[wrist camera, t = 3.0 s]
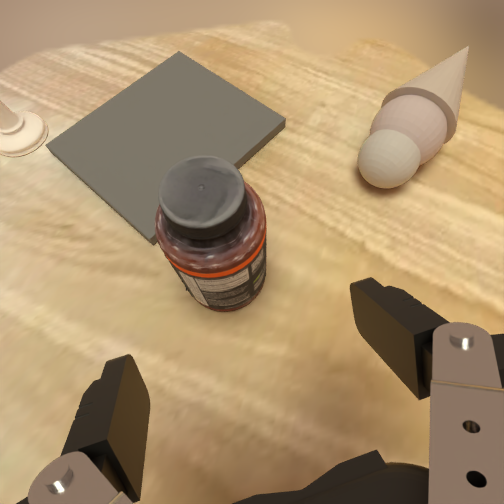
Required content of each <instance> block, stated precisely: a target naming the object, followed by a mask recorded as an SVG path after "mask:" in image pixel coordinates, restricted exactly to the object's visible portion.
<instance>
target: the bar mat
mask: <svg viewBox="0 0 504 504" xmlns="http://www.w3.org/2000/svg"><path fill="white" fill-rule="evenodd" d="M285 121H286V118H284V117H283V116H281V115H279V114H278V113H276V112H275V111H273V110H271V109H270V108H268V107H267V106H265V105H264V104H262V103H260V102H259V101H257V100H256V99H254V98H252V97H251V96H249V95H248V94H246V93H245V92H243V91H241V90H240V89H238V88H237V87H235V86H233V85H232V84H230V83H229V82H227V81H225V80H224V79H222V78H221V77H219V76H218V75H216V74H214V73H213V72H211V71H210V70H208V69H206V68H205V67H203V66H202V65H200V64H199V63H197V62H195V61H194V60H192V59H191V58H189V57H187V56H186V55H184V54H183V53H181V52H180V51H178V52H177V53H176V54H174V55H173V56H171V57H170V58H168V59H167V60H166V61H164V62H163V63H161V64H160V65H158V66H157V67H156V68H154V69H153V70H151V71H150V72H148V73H147V74H146V75H144V76H143V77H141V78H140V79H139V80H137V81H136V82H134V83H133V84H131V85H130V86H129V87H127V88H126V89H124V90H123V91H121V92H120V93H119V94H117V95H116V96H114V97H113V98H112V99H110V100H109V101H107V102H106V103H104V104H103V105H102V106H100V107H99V108H97V109H96V110H94V111H93V112H92V113H90V114H89V115H87V116H86V117H85V118H83V119H82V120H80V121H79V122H77V123H76V124H75V125H73V126H72V127H70V128H69V129H67V130H66V131H65V132H63V133H62V134H60V135H59V136H58V137H56V138H55V139H53V140H52V141H50V142H49V143H48V144H46V145H45V146H46V147H47V148H48V149H49V150H50V152H51V153H52V154H53V155H54V156H56V157H57V158H58V159H59V160H60V161H61V162H62V163H63V164H64V165H65V166H67V167H68V168H69V169H70V170H71V171H72V172H73V173H74V174H75V175H76V176H78V177H79V178H80V179H81V180H82V181H83V182H84V183H85V184H86V185H87V186H89V187H90V188H91V189H92V190H93V191H94V192H95V193H96V194H97V195H98V196H100V197H101V198H102V199H103V200H104V201H105V202H106V203H107V204H108V205H109V206H111V207H112V208H113V209H114V210H115V211H116V212H117V213H118V214H119V215H120V216H122V217H123V218H124V219H125V220H126V221H127V222H128V223H129V224H130V225H131V226H133V227H134V228H135V229H136V230H137V231H138V232H139V233H140V234H141V235H142V236H144V237H145V238H146V239H147V240H148V241H149V242H150V243H151V244H152V245H154V244H155V243H156V242H157V238H156V234H155V216H156V212H157V208H158V206H159V200H158V190H159V185H160V182H161V180H162V178H163V176H164V175H165V174H166V172H167V171H168V170H169V169H170V168H171V167H172V166H173V165H175V164H176V163H177V162H179V161H181V160H184V159H185V158H189V157H192V156H198V155H213V156H217V157H220V158H223V159H225V160H227V161H229V162H230V163H232V164H233V165H234V166H235V167H236V168H237V169H239V168H240V167H241V166H242V165H243V164H244V163H245V162H246V161H248V160H249V159H250V158H251V157H252V156H253V155H254V154H255V153H256V152H258V151H259V150H260V149H261V148H262V147H263V146H264V145H265V144H266V143H268V142H269V141H270V140H271V139H272V138H273V137H274V136H275V135H277V134H278V133H279V132H280V131H281V130H282V129H283V128H284V127H285Z"/></svg>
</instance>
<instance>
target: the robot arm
mask: <svg viewBox="0 0 504 504" xmlns="http://www.w3.org/2000/svg"><path fill="white" fill-rule="evenodd" d="M350 293H351V300H352V306H353V313H354V319H355V323H356V326H357V329H358V331H359V333H360V334H361V336H362V337H363V338H364V339H365V340H366V342H367V343H368V344H369V345H370V346H371V347H372V348H373V349H374V350H375V352H376V353H377V354H378V355H379V356H380V357H381V358H382V359H383V360H384V362H385V363H386V364H387V365H388V366H389V367H390V368H391V369H392V371H393V372H394V373H395V374H396V375H397V376H398V377H399V378H400V379H401V381H402V382H403V383H404V384H405V385H406V386H407V387H408V388H409V389H410V391H411V392H412V393H413V394H414V395H415V396H416V397H417V398H418V400H421V399H424V398H427V397H429V396H430V446H429V469H428V468H425V467H422V466H418V465H414V464H407V463H394V462H390V463H385V462H384V460H383V459H382V457H381V456H380V454H379V452H378V451H377V450H374V451H372V452H369V453H366V454H364V455H361V456H358V457H356V458H353V459H350V460H348V461H345V462H342V463H340V464H338V465H336V466H335V467H333V468H332V469H331V470H329V471H328V472H326V473H325V474H324V475H322V476H321V477H320V478H318V479H317V480H315V481H314V482H313V483H311V484H310V485H308V486H307V487H306V488H304V489H302V490H298V491H289V492H279V493H269V494H259V495H254V496H252V497H249V498H246V499H244V500H241V501H238V502H236V503H233V504H504V334H496V335H490V334H489V333H488V332H487V331H485V330H484V329H482V328H480V327H478V326H476V325H473V324H469V323H461V322H453V323H450V322H448V321H447V320H446V319H444V318H443V317H441V316H440V315H438V314H437V313H436V312H434V311H433V310H431V309H430V308H428V307H427V306H426V305H424V304H422V303H421V302H420V301H418V300H417V299H416V298H413V296H411V295H410V294H408V293H407V292H406V291H404V290H402V289H399V288H396V287H392V286H386V287H384V286H382V285H381V284H380V283H378V282H377V281H376V280H374V279H373V278H371V277H370V278H366V279H363V280H360V281H357V282H354V283H351V284H350ZM149 414H150V398H149V394H148V390H147V388H146V385H145V383H144V381H143V379H142V377H141V374H140V372H139V370H138V368H137V365H136V363H135V361H134V359H133V357H132V356H131V355H130V354H128V355H124V356H121V357H118V358H115V359H112V360H109V361H107V362H106V364H105V367H104V370H103V373H102V376H101V379H98V380H95V381H93V383H92V384H91V385H90V386H89V388H88V389H87V390H86V391H85V393H84V394H83V397H82V399H81V402H80V405H79V409H78V410H77V413H76V416H75V420H74V421H73V424H72V426H71V429H70V432H69V434H68V437H67V440H66V442H65V445H64V448H63V451H62V453H61V456H60V457H59V458H57V459H55V460H54V461H53V462H51V463H50V464H49V465H47V466H46V467H45V468H44V469H43V470H42V471H41V472H40V473H39V475H38V476H37V477H36V478H35V480H34V481H33V483H32V485H31V487H30V489H29V493H28V497H26V498H25V499H23V500H21V501H20V502H18V503H16V504H133V503H135V502H137V501H140V496H141V487H142V478H143V469H144V460H145V451H146V441H147V432H148V423H149Z"/></svg>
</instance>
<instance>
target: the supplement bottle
mask: <svg viewBox="0 0 504 504" xmlns="http://www.w3.org/2000/svg"><path fill="white" fill-rule="evenodd" d="M158 200H159V206H158V208H157V212H156V216H155V234H156V238H157V241H158V243H159V245H160V247H161V249H162V251H163V252H164V254H165V257H166V258H167V259H168V260H169V262H170V263H171V265H172V267H173V268H174V269H175V271H176V272H177V274H178V276H179V277H180V278H181V280H182V282H183V283H184V285H185V287H186V291H187V289H188V291H189V292H190V294H191V295H192V296H193V297H194V298H195V299H196V300H197V301H198V302H199V303H200V304H202V305H203V306H205V307H207V308H209V309H212V310H216V311H232V310H236V309H239V308H242V307H244V306H246V305H247V304H249V303H250V302H251V301H252V300H253V299H254V298H255V297H256V296H257V295H258V293H259V292H260V290H261V289H262V286H263V283H264V280H265V276H266V215H265V210H264V207H263V204H262V201H261V199H260V198H259V196H258V194H257V193H256V192H255V190H254V189H253V188H252V187H251V186H250V185H249V184H247V183H246V182H244V180H243V177H242V175H241V173H240V172H239V171H238V169H237V168H236V167H235V166H234V165H233V164H232V163H230V162H229V161H227V160H225V159H223V158H220V157H217V156H213V155H198V156H192V157H189V158H185V159H184V160H181V161H179V162H177V163H176V164H175V165H173V166H172V167H171V168H170V169H169V170H168V171H167V172H166V174H165V175H164V176H163V178H162V180H161V182H160V185H159V190H158Z"/></svg>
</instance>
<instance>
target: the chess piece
mask: <svg viewBox="0 0 504 504" xmlns="http://www.w3.org/2000/svg"><path fill="white" fill-rule="evenodd" d="M47 134H48V127H47V124H46V123H45V121H44V120H42V119H41V117H40V116H38V115H37V114H35V113H32V112H27V111H21V112H15V113H13V112H12V111H11V110H10V109H9V108H8V107H7V106H6V105H5V104H3V103H2V102H1V101H0V154H2V155H5V156H9V157H17V156H23V155H26V154H28V153H31V152H32V151H34V150H36V149H37V148H38V147H39V146H40V145H41V144H42V143H43V142H44V141H45V139H46V137H47Z"/></svg>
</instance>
